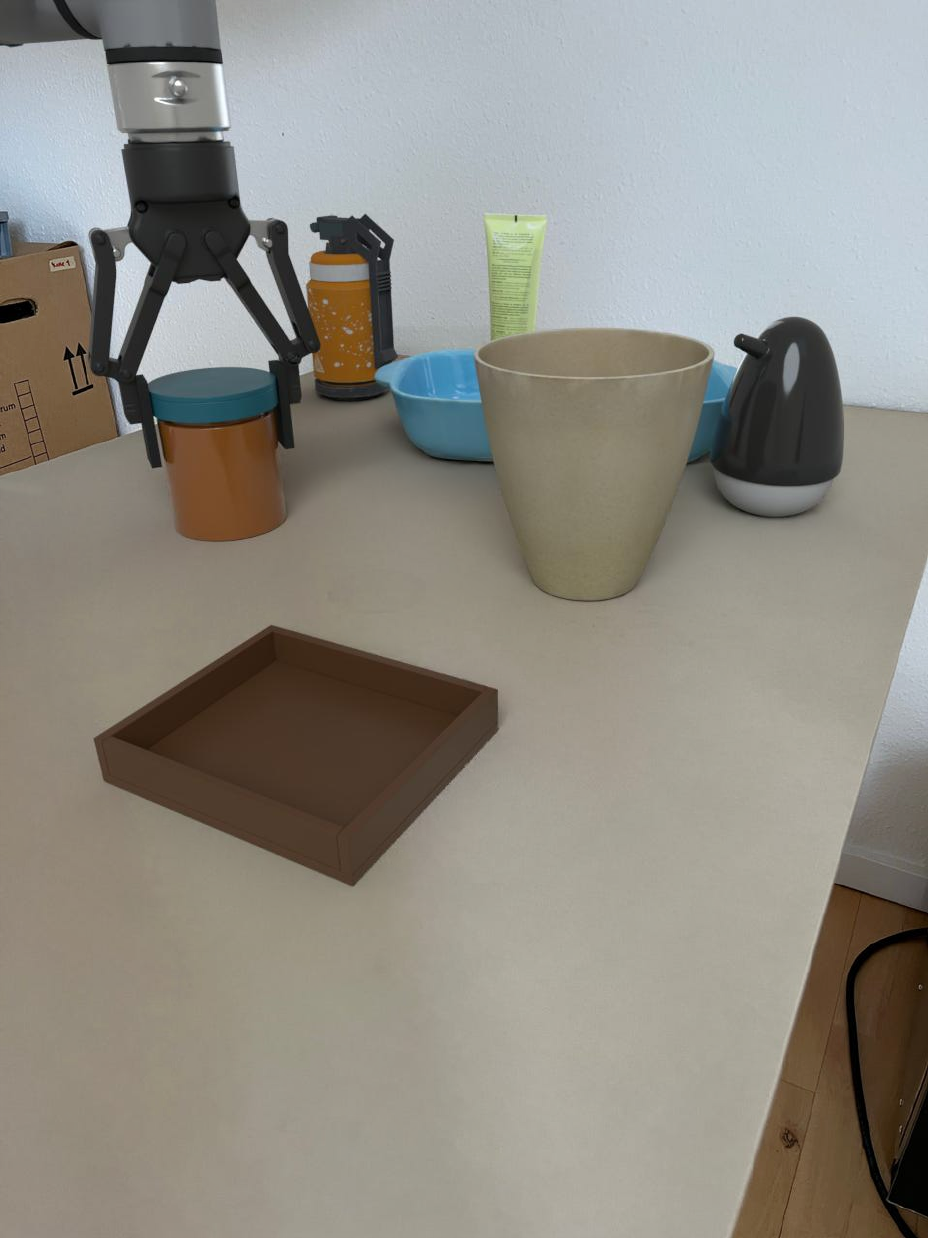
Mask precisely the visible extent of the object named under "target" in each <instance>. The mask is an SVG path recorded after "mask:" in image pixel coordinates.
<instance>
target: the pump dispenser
mask: <svg viewBox="0 0 928 1238" xmlns="http://www.w3.org/2000/svg"><path fill="white" fill-rule="evenodd" d="M733 346H734V347H735V348H736V349H739V350H740V351H742V352H744V353H745V354H744V356H743V358H742V360H741V361H740V363H739V364H738V367H737V368H738V369H737V371H736V374H735V376H734V378H733V380H732V383H731V385H730V387H729V390H728V392H727V395H726V397H725V400H724V403H723V406H722V409H721V412H720V415H719V419H718V422H717V426H716V430H715V434H714V438H713V442H712V447H711V450H710V454H709V460H710V461H709V462H710V464H711V466H712V467H713V473H714V478H715V482H716V484H717V487H718V490H719V491H720V493H721V494H722V496H723V497H724V498H725V499H726V500H727V501H728V502H729V503H730V504H732V505H733V506H734V507H735V508H737V509H740V510H742V511H743V512H746V513H749V514H752V515H756V516H762V517H769V518H782V517H790V516H795V515H798V514H801V513H804V512H806V511H808V510H810V509H813V508H814V507H815V506H817V504H818V503H819V502H821V501H822V499H824V497H825V496H826V495H827V494H828V492H829V490H830V488H831V487H832V485H833V483H834V480H835V478H837V477H838V476H839V475H840V473H841V471H842V466H843V459H844V445H845V414H844V413H845V411H844V402H843V401H844V400H843V393H842V386H841V379H840V375H839V369H838V365H837V360H836V357H835V354H834V351H833V348H832V345H831V343H830V340H829V339H828V337H827V334H826V333H825V331H824V330H823V329H822V328H821V326H820V325H818V323H816V322H815V321H813V320H811V319H808V318H805V317H801V316H785V317H782V318H779V319H776V320H774V321H772V322H770V323H769V324H767V325H766V326H765V327H764V328H763V329H762V330H761V331H760V332H759V333H758V335H756V336H755V337H754V336H751V335H749V334H745V333H738V334H736V335H735V336H734V338H733Z"/></svg>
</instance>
